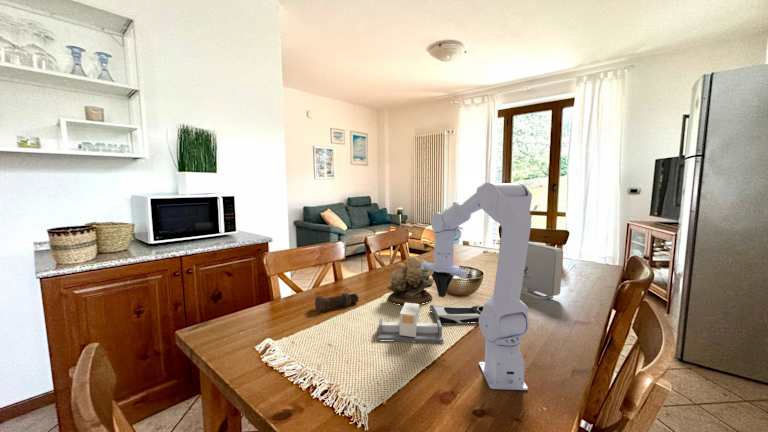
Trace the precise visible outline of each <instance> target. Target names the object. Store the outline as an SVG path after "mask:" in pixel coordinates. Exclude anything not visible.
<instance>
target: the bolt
mask: <svg viewBox="0 0 768 432" xmlns="http://www.w3.org/2000/svg"><path fill="white" fill-rule="evenodd" d="M359 298H360V297H359V295H358V294H357V293H351V294H350V293H349V292H342V294H341V295H337V296H331V297H323V296H322V295H317V296H316V297H315V300H314V301H315V302H314V306H315V310H316V311H317V312H318V313H324V311H325V309H329V308H331V307H338V306H343V307H346V308H347V307H350V306H351V304H356V303H358V302H359Z"/></svg>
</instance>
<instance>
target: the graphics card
mask: <svg viewBox="0 0 768 432" xmlns="http://www.w3.org/2000/svg"><path fill="white" fill-rule="evenodd" d="M483 306H484V305H462V306H461V305H457V306H456V305H455V306H453V305H451V306H450V305H448V306H447V305H434V304H431V305H429V312H430V311H432V312H433V313H432V312H431V313H432V314H434V315H433V316H434V319H435V321H436V320H440V322H441V323H468V322H469V323H471V322H476V323H479V316H480V314H481V312H482V311H483Z"/></svg>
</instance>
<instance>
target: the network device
mask: <svg viewBox="0 0 768 432" xmlns="http://www.w3.org/2000/svg"><path fill="white" fill-rule="evenodd" d="M563 261H564V251H563V248H560V247H556V246H551V245H545V244H541V243H537V242H532V241H529V242H528V249H527V256H526V262H525V269H524V275H523V282H522V288H521V294H524V295H527V296H530V297H532V298H535V299H538V300H546V299H547V300H548V299H552V298H553V297H554V296H559V295H560V294H561V287H562V286H561V285H562V275H563V274H562V273H563ZM533 292H538V293H540V294H543V295H544V296H538V295H536V294H533Z"/></svg>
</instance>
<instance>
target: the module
mask: <svg viewBox="0 0 768 432" xmlns="http://www.w3.org/2000/svg"><path fill="white" fill-rule="evenodd" d="M420 306H421V305H420V304H415V303H405V304H404V306H402V307H401V310H400V311H399V322H400V335H403V336H411V337H415V336H416V328H417V325H418V323H420Z"/></svg>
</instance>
